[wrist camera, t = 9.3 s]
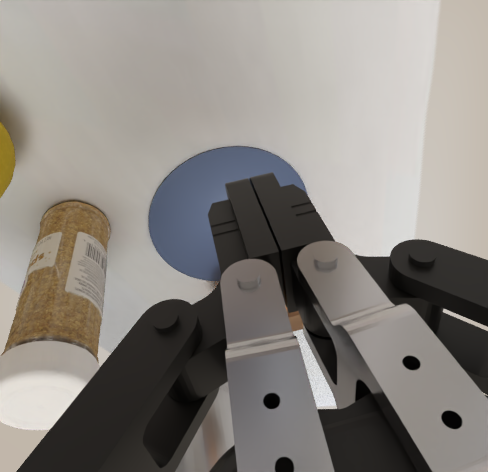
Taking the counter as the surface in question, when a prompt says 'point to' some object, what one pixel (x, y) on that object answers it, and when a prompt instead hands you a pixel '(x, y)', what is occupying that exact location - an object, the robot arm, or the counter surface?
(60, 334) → the sprinkles bottle
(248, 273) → the robot arm
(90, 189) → the counter surface
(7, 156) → the lemon
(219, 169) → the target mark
